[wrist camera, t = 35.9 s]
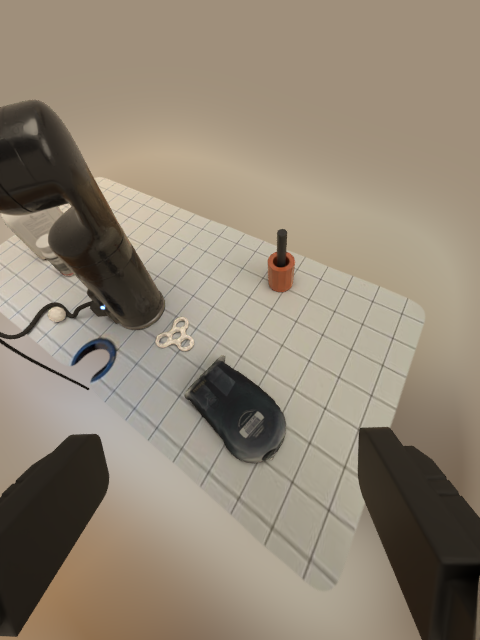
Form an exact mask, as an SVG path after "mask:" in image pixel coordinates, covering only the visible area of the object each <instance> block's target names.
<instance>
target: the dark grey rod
mask: <svg viewBox="0 0 480 640" xmlns="http://www.w3.org/2000/svg"><path fill="white" fill-rule="evenodd" d="M286 245H287V231H286V230H285V229H281V230H278V232H277V267H279V268H280V267H285V264H286Z"/></svg>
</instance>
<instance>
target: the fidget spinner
mask: <svg viewBox="0 0 480 640" xmlns="http://www.w3.org/2000/svg"><path fill="white" fill-rule="evenodd" d="M179 321H185V325H184V326H183V327H181V328H178V327H176V324H177V323H178V322H179ZM188 325H189V322H188V320H187V319H186V318H185V317H179V318H177V319H175V320H174V322H173V328H172V329H171V330H170V331H169V332H165V333H161V334H159V335H158V336H157V337H156V344H157V346H158V347H161V348H165V347H167V346H169V345H171V344H175V345H177V346H178V348H179V349H180V350H182V351H188V350H190V349H191V348H192V347H193V345H194V340H193V338H192V337H190V336H188V335H186V329H187V327H188ZM176 332H180V333H181V337H180V338H178V339H172V336H173V334H174V333H176ZM163 336H167V337H168V341H167V342H166V343H165V344H160V343H159V340H160V338H161V337H163ZM185 339H188V340H190V345H189V346H188V347H181V343H182V341H183V340H185Z"/></svg>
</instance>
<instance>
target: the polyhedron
mask: <svg viewBox="0 0 480 640" xmlns="http://www.w3.org/2000/svg"><path fill="white" fill-rule="evenodd" d="M48 317H49V318H50V320H52V321H54V322H60V321H62V320H64V318H65V317H66V312H65V311H64V309H62V308H60V307H53V308H52V309H50V310H49V312H48Z"/></svg>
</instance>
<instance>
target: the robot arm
mask: <svg viewBox="0 0 480 640" xmlns="http://www.w3.org/2000/svg"><path fill="white" fill-rule="evenodd" d="M67 203H69V204H70V205H71V206H72V207H71V208H70V209H68V210H67V211H66V212H65V213H64V214H63V215H61V216H60V217H59V218H58V219H57V220H56V221H55V223H54V224H53V225H52V227H51V229H50V231H49V234H48V244H49V246H50V248H51V250H52V251H53V252H54V253H55V255H56V256H57V257H58V258H59V259H60V260H61V261H62V262H63V263H64V264H65V265H66V266H67V267H68V268H69V269H70V270H71V271H72V272H73V273H74V275H76V277H77V278H78V279H79V280H80V281H81V282H82V283H83V284H84V285H85V286H86V287H87V288H88V291H87V295H88V296H89V297H90V298H91V299H92V301H91V302H88V303H85V304H83V305H81V306H79V307H77V308H76V310H75V311H74V313H73V314H70V313H69V312H68V310H67V309H66V308H65V307H64V306H63V305H62V304H60V303H50V304H48V305H46V306H44V307H43V308H42V309H41V310H40V311H39V312H38V313H37V315H36V316H35V318H34V319H33V320H32V322H31V323H30V325H29V326H28V327H27V328H26V329H25V330H24V331H23V332H21V333H19V334H17V335H6V334H3V333H1V332H0V337H2V338H6V339H17V338H20V337H22V336H24V335H26V334H27V333H28V332H29V331H30V330H31V329H32V328H33V327H34V325H35V324H36V323H37V321H38V320H39V318H40V317H41V315H42V314H43V313H44V312H45V311H46V310H47V309H49V308H51V307H53V306H57V307H60V308H62V309H64V311H65V312H66V315H67V316H68V317H70V318H75V317H76V316H77V315H78V313H79V311H80V310H82V309H84V308H86V307H89V306H90V309H91V310H92V311H93V312H94V313H95V314H96V315H97V316H109V317H110V318H111V319H112V320H113V321H114V322H115V323H116V324H121V325H122V326H124V327H125V328H127V329H132V330H138V329H143V328H146V327H148V326H150V325H152V324H153V323H155V322H156V321H157V320H158V319H159V318H160V316H161V315H162V313H163V311H164V308H165V300H164V298H163V296H162V294H161V293H160V291H159V290H158V288H157V287H156V285H155V283H154V281H153V280H152V278H151V276H150V275H149V273H148V271H147V270H146V268H145V266H144V265H143V263H142V261H141V260H140V258H139V256H138V255H137V253H136V251H135V249H134V248H133V246H132V244H131V243H130V241H129V239H128V238H127V236H126V234H125V233H124V231H123V229H122V228H121V226H120V224H119V223H118V221H117V219H116V218H115V216H114V214H113V212H112V210H111V208H110V206H109V204H108V203H107V201H106V199H105V197H104V196H103V194H102V192H101V190H100V189H99V187H98V185H97V183H96V181H95V179H94V178H93V176H92V174H91V172H90V170H89V168H88V166H87V164H86V162H85V160H84V158H83V156H82V154H81V152H80V150H79V148H78V147H77V145H76V143H75V141H74V139H73V138H72V136H71V134H70V132H69V131H68V129H67V128H66V126H65V125H64V123H63V122H62V120H61V119H60V118H59V116H58V115H57V114H56V113H55V112H54V111H53V110H52V109H51V108H50V107H49V106H48V105H46V104H45V103H43V102H41V101H39V100H28V101H23V102H19V103H15V104H11V105H7V106H3V107H0V213H2V214H6V215H13V216H21V215H29V214H33V213H36V212H40V211H43V210H47V209H50V208H54V207H57V206H61V205H64V204H67ZM0 343H1V344H2V345H4V346H5V347H7V348H8V349H10V350H11V351H13V352H15V353H16V354H18V355H20V356H22V357H23V358H25V359H27V360H29V361H31V362H32V363H34V364H36V365H39V366H40V367H42V368H44V369H46V370H48V371H50V372H52V373H55V374H56V375H58V376H61V377H62V378H65V379H67V380H69V381H71V382H73V383H75V384H77V385H79V386H81V387H83V388H85V389H86V390H89V388H88V387H86V386H84V385H82V384H81V383H79V382H77V381H75V380H73V379H71V378H69V377H67V376H65V375H63V374H61V373H59V372H57V371H55V370H53V369H51V368H49V367H47V366H45V365H43V364H41V363H39V362H38V361H36V360H34V359H32V358H30V357H28V356H26V355H25V354H23V353H21V352H20V351H18V350H17V349H15V348H13V347H12V346H10V345H9V344H7V343H6V342H5V341H3V340H2V339H0ZM358 479H359V485H360V489H361V493H362V496H363V498H364V501H365V503H366V506H367V508H368V511H369V513H370V515H371V518H372V520H373V523H374V525H375V527H376V530H377V532H378V535H379V537H380V539H381V542H382V544H383V547H384V549H385V551H386V554H387V556H388V559H389V561H390V564H391V566H392V568H393V571H394V573H395V576H396V578H397V581H398V583H399V585H400V588H401V590H402V593H403V595H404V597H405V600H406V602H407V605H408V607H409V610H410V612H411V614H412V617H413V619H414V622H415V624H416V626H417V629H418V631H419V633H420V636H421V639H422V640H480V518H479V517H478V515H477V514H476V513H475V512H474V510H473V509H472V508H471V507H470V506H469V504H468V503H467V502H466V501H465V499H464V498H463V497H462V496H460V495H459V493H458V491H457V490H456V488H455V487H454V486H453V485H452V483H451V482H450V481H449V480H447V479H446V476H445V475H444V474H443V472H442V471H441V470H440V469H439V467H438V466H437V465H436V464H435V463H434V461H433V460H432V459H430V458H429V457H428V456H426V455H425V454H424V453H422V452H420V451H419V450H418V449H416V448H415V447H414V446H403V445H402V444H401V442H400V441H399V440H398V438H397V437H396V435H395V434H394V433H393V431H392V430H391V429H390V428H389V427H372V428H360V430H359V447H358ZM108 484H109V473H108V468H107V464H106V460H105V455H104V451H103V447H102V443H101V439H100V437H99V436H98V435H97V434H81V435H70V436H69V437H68V438H66V439H65V440H64V441H63V442H62V443H61V444H60V445H59V446H58V447H57V448H56V449H55V450H54V451H53V452H52V453H50V454H48V455H47V456H46V457H44V458H42V459H41V460H39V461H38V462H36V463H35V464H33V465H32V466H31V467H30V468H29V469H28V470H26V471H25V472H24V473H23V474H22V475H21V476H20V477H19V478H18V479H17V480H16V483H15V484H12V485H11V486H10V487H9V488H8V489H7V490H6V491H4V493H2V496H1V497H0V636H15V637H17V636H18V634H19V633H20V631H21V630H22V628H23V626H24V625H25V623H26V622H27V620H28V618H29V616H30V615H31V614H32V612H33V610H34V609H35V607H36V606H37V604H38V602H39V601H40V599H41V598H42V596H43V594H44V593H45V591H46V590H47V588H48V586H49V584H50V583H51V582H52V580H53V578H54V577H55V575H56V574H57V572H58V570H59V569H60V567H61V566H62V564H63V562H64V561H65V559H66V558H67V556H68V554H69V553H70V551H71V550H72V548H73V546H74V545H75V543H76V542H77V540H78V538H79V537H80V535H81V533H82V532H83V530H84V529H85V527H86V525H87V524H88V522H89V521H90V519H91V517H92V516H93V514H94V513H95V511H96V509H97V508H98V506H99V505H100V503H101V501H102V500H103V498H104V496H105V494H106V491H107V489H108Z"/></svg>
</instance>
